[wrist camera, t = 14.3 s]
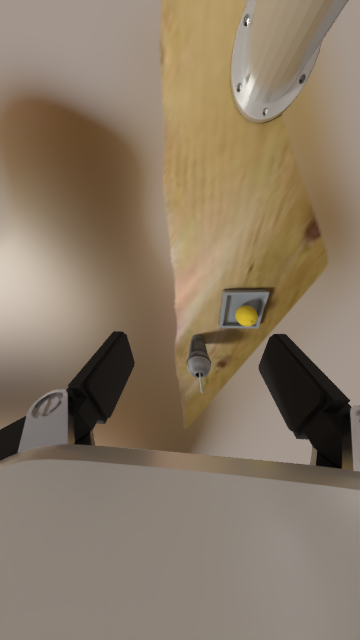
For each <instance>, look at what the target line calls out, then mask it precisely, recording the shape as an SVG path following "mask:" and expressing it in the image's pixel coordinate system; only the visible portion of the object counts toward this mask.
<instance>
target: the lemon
mask: <svg viewBox="0 0 360 640" xmlns="http://www.w3.org/2000/svg"><path fill="white" fill-rule="evenodd" d="M235 317H236V320H237V321H238V322H239V323H240V324H241V325H243V326H247V327H248V326H252V325H254V324H255V323H256V322H257V319H258V316H257V312H256V311H255V309H254V308H252V307H251V306H247V305H244V306H241V307H239V308H238V309H237V310H236V313H235Z"/></svg>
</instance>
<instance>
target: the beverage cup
mask: <svg viewBox="0 0 360 640" xmlns="http://www.w3.org/2000/svg"><path fill="white" fill-rule="evenodd" d="M210 367H211V361H210V359H209V357H208V354H207V350H206V346H205V342H204V339H203V337H202V336H201V335H194V336H193V337H192V339H191V344H190V351H189V357H188V360H187V368H188V370H189V372H190V374H192V375H193V376H194V377H197V378H200V386H201V393H202V394H203V388H202V379H201V378H202V377H205V376H206V375H207V374H208V373H209V371H210Z"/></svg>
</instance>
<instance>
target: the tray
mask: <svg viewBox="0 0 360 640" xmlns="http://www.w3.org/2000/svg"><path fill="white" fill-rule="evenodd" d="M268 295H269V292H268V291H267V290H266V289H247V290H223V294H222V301H221V309H220V317H219V327H220V328H259V324H260V321H261V318H262V315H263V312H264V308H265V305H266V302H267V299H268ZM244 305H247V306H251V307H252V308H254V309H255V311H256V312H257V316H258V319H257V322H256V323H255V324H254V325H252V326H248V327H247V326H243V325H241V324H240V323H239V322H238V321H237V320H236V317H235V313H236V310H237V309H238V308H239V307H241V306H244Z"/></svg>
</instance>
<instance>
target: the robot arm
mask: <svg viewBox="0 0 360 640" xmlns="http://www.w3.org/2000/svg"><path fill="white" fill-rule="evenodd" d="M347 2H348V0H249V2H248V4H247V6H246V8H245V10H244V12H243V15H242V18H241V21H240V24H239V27H238V30H237V34H236V38H235V43H234V48H233V53H232V60H231V88H232V94H233V98H234V101H235V104H236V106H237V108H238V110H239V112H240V113H241V114H242V115H243V116H244V117H245V118H246V119H248V120H249V121H251V122H255V123H264V122H267V121H271V120H272V119H274V118H276V117H278V116H279V115H280V114H281V113H283V112H284V111H285V110H286V109H287V108H288V107H289V105H290V104H291V103H292V102H293V101H294V100H295V98H296V97H297V95H298V94H299V93H300V91H301V90H302V88H303V87H304V85H305V83H306V82H307V80H308V77H309V76H310V74H311V71H312V69H313V67H314V65H315V62H316V59H317V56H318V54H319V50H320V46H321V42H322V40H323V38H324V37H325V35H326V34H327V32H328V31H329V29H330V28H331V26H332V24H333V23H334V22H335V20H336V18H337V17H338V15H339V14H340V12H341V11H342V9H343V8H344V6H345V5H346V3H347ZM299 82H300V83H299ZM238 90H239V92H237V91H238ZM263 114H264V116H263ZM133 367H134V359H133V355H132V352H131V348H130V345H129V342H128V339H127V335H126V334H124V332H116V331H115V332H113V333H112V334H111V335H110V336H109V337H108V339H107V340H106V341H105V342H104V343H103V345H102V346H101V347H100V348H99V349H98V351H97V352H96V353H95V354H94V355H93V356H92V358H91V359H90V360H89V361H88V362H87V364H86V365H85V366H84V367H83V368H82V369H81V371H80V372H79V373H78V374H77V376H76V377H75V378H74V379H73V380H72V381H71V382H70V384H69V385H68V387H69V388H68V389H67V390H64V389H58V390H54V391H51V392H49V393H47V394H45V395H43V396H42V397H41V398H39V399H38V400H37V401H36V402H35V403H34V404H33V405H32V406H31V408H30V409H29V411H28V413H27V416H25V417H23V418H21V419H19V420H17V421H16V422H14V423H12V424H10V425H8V426H6V427H4V428H3V429H1V430H0V640H360V406H353V407H351V406H350V405H349V404H348V402H349V401H350V400H349V399H348V398H347V397H346V396H345V395H344V394H343V393H342V392H341V391H340V390H339V389H338V388H337V386H336V385H335V384H334V383H333V382H332V381H331V380H330V379H328V377H327V376H326V375H325V374H324V373H323V372H322V371H321V370H320V369H319V368H318V367H317V366H316V365H315V364H314V363H313V362H312V361H311V360H310V359H309V358H308V357H307V356H306V355H305V354H304V353H303V352H302V351H301V349H299V347H298V346H296V344H295V343H294V342H293V341H292V340H291V339H290V338H289V337H288V336H287V335H285V334H274V335H272V336H271V337H270V338H269V340H268V343H267V345H266V348H265V351H264V353H263V356H262V359H261V361H260V364H259V371H260V373H261V375H262V377H263V379H264V381H265V383H266V385H267V387H268V389H269V391H270V392H271V395H272V397H273V399H274V401H275V403H276V405H277V407H278V409H279V411H280V413H281V414H282V417H283V418H284V420H285V423H286V424H287V426H288V428H289V429H290V430H291V431H293V433H294V435H295V436H296V438H297V439H309V441H310V442H311V444H312V455H311V462H310V465H303V464H293V463H283V462H273V461H263V460H252V459H241V458H231V457H219V456H209V455H199V454H188V453H176V452H165V451H154V450H143V449H131V448H119V447H107V446H95V440H94V433H93V428H94V426H95V424H96V423H99V424H105V423H106V421H107V418H109V417H110V416H111V415H112V413H113V411H114V408H115V406H116V404H117V402H118V400H119V398H120V395H121V393H122V391H123V389H124V387H125V384H126V382H127V380H128V378H129V376H130V374H131V371H132V369H133Z"/></svg>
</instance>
